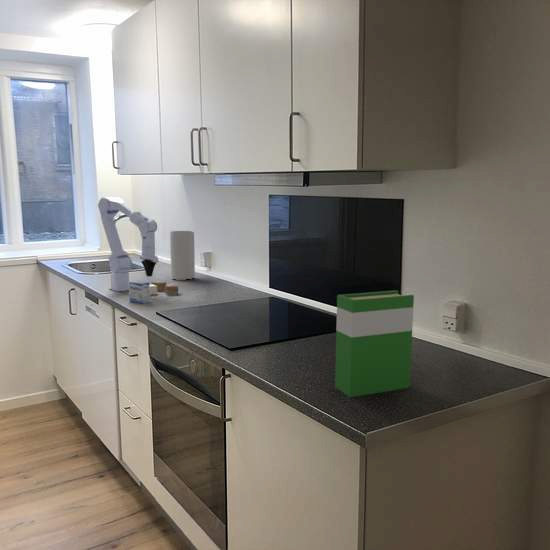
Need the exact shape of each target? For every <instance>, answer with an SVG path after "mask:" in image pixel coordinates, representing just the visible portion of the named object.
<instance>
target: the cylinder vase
mask: <svg viewBox="0 0 550 550" xmlns="http://www.w3.org/2000/svg"><path fill="white" fill-rule="evenodd" d="M169 237H170V239H169V241H170V243H169V244H170V248H169V249H170V278H171V279H172V280H173V279H176V280H175V281H187V280H186V279H191V280H193V279H192V278H194V277H196V274H195V272H196V269H195V268H196V266H195V265H196V263H195V262H196V261H195V260H196V259H195V231H192V230H172V231H170V232H169ZM194 279H195V278H194Z"/></svg>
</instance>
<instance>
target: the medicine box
mask: <svg viewBox="0 0 550 550" xmlns="http://www.w3.org/2000/svg"><path fill="white" fill-rule="evenodd" d="M150 285H151V284H150V282H146V281H138V280H133V281H129V290H128V291H129V292H128V295H129V296H128V297H129V302H130V303H135V302H137V304H143V303H144V304H147V302H148V303H150V302H151V295H150Z"/></svg>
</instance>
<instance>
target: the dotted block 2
mask: <svg viewBox="0 0 550 550" xmlns="http://www.w3.org/2000/svg"><path fill="white" fill-rule="evenodd" d="M164 293H166V294H165V295H167V296H174V295H173V294H178V295H179V285H177V284H175V283H174V284H173V283H172V284H167V285H165V290H164Z"/></svg>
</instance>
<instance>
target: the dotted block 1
mask: <svg viewBox="0 0 550 550" xmlns="http://www.w3.org/2000/svg"><path fill="white" fill-rule="evenodd" d="M151 284H153V285H156V286H157V292H162V290H164V291H165V285H168V284H167V281H164V280H163V281H162V280H157V281H156V280H155V281H151ZM151 284H150V285H151Z"/></svg>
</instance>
